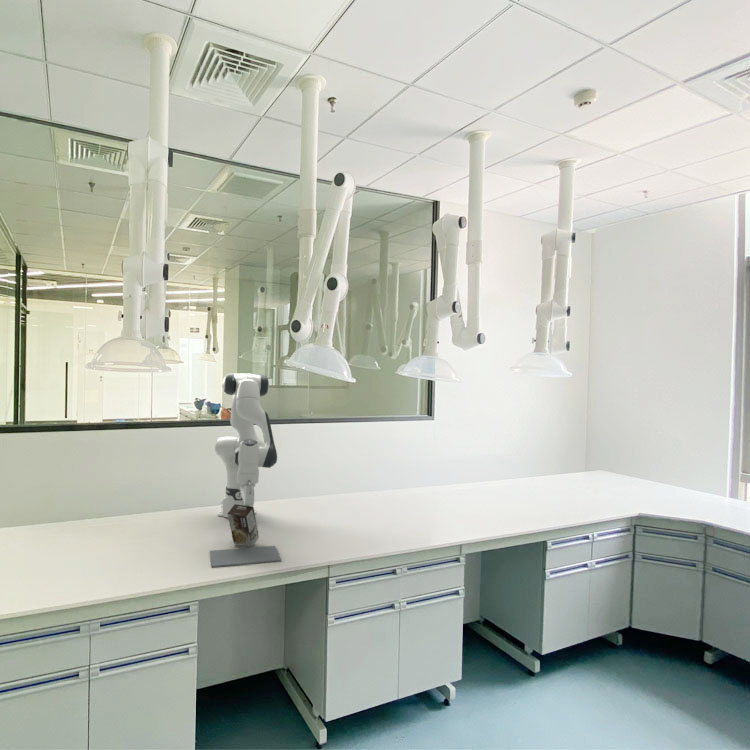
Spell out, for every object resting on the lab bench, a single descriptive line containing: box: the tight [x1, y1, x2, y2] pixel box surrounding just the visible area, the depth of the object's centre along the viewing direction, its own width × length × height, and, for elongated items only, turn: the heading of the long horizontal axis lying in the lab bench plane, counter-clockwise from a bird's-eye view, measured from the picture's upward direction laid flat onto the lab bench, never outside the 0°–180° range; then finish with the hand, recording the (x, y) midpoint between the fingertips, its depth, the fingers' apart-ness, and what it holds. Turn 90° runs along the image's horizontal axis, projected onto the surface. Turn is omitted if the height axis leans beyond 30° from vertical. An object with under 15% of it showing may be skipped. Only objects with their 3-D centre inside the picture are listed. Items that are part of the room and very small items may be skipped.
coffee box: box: [227, 504, 260, 548], centre depth 215 cm, size 9×6×16 cm
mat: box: [209, 545, 282, 568], centre depth 204 cm, size 16×26×1 cm, turn 110°
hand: (246, 510), depth 219 cm, fingers closed
